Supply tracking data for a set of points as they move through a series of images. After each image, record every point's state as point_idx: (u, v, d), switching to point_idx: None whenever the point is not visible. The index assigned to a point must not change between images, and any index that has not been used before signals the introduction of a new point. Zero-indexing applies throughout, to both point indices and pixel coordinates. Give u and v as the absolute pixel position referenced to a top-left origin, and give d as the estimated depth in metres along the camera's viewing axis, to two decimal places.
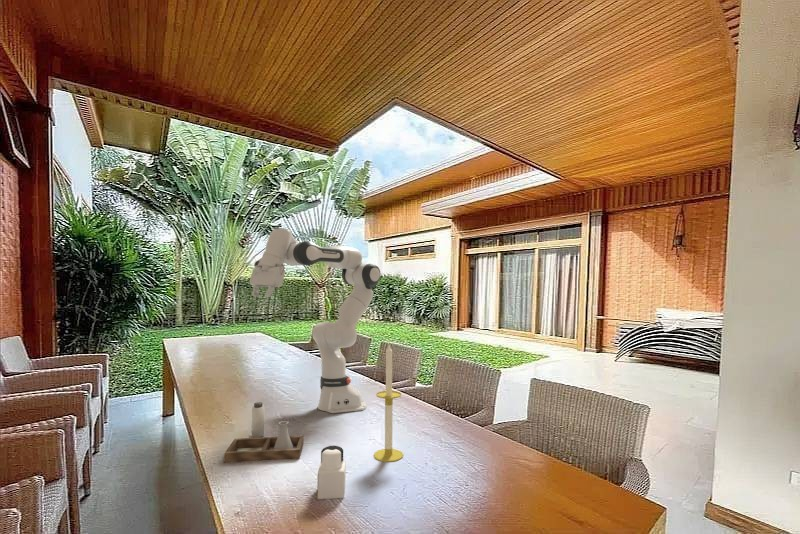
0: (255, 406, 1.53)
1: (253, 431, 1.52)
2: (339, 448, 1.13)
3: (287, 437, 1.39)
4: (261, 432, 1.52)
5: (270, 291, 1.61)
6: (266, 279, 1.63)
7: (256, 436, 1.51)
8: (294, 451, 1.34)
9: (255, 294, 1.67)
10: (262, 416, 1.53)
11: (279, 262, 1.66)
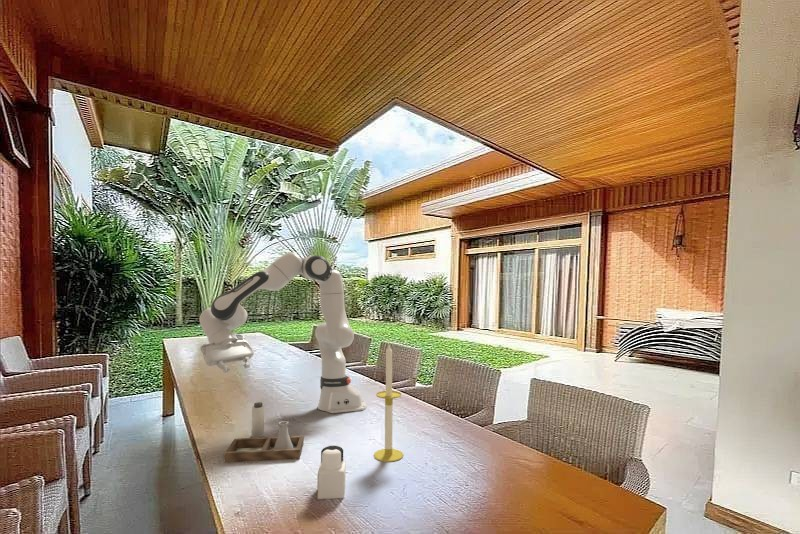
0: (255, 406, 1.53)
1: (253, 431, 1.52)
2: (339, 448, 1.13)
3: (287, 437, 1.39)
4: (261, 432, 1.52)
5: (221, 367, 1.57)
6: None
7: (256, 436, 1.51)
8: (294, 451, 1.34)
9: (245, 366, 1.65)
10: (262, 416, 1.53)
11: (212, 340, 1.63)
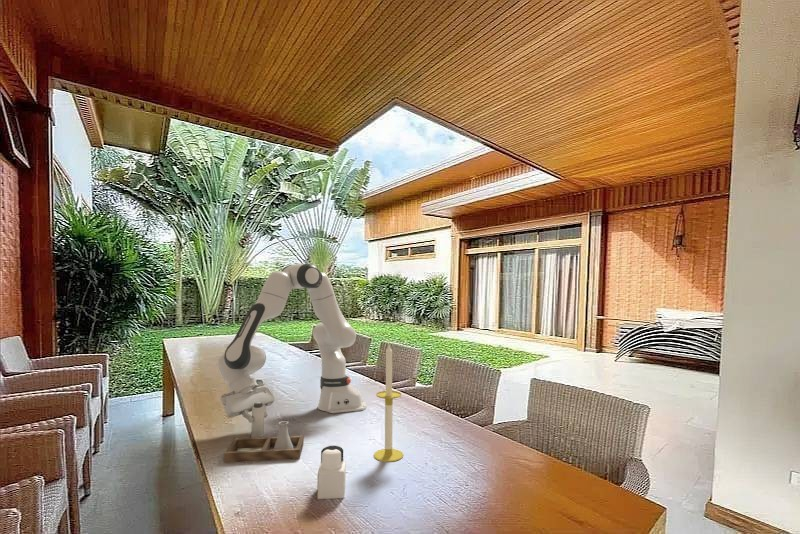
0: (255, 406, 1.53)
1: (253, 431, 1.52)
2: (339, 448, 1.13)
3: (287, 437, 1.39)
4: (261, 432, 1.52)
5: (247, 416, 1.51)
6: None
7: (256, 436, 1.51)
8: (294, 451, 1.34)
9: None
10: (262, 416, 1.53)
11: (232, 388, 1.55)
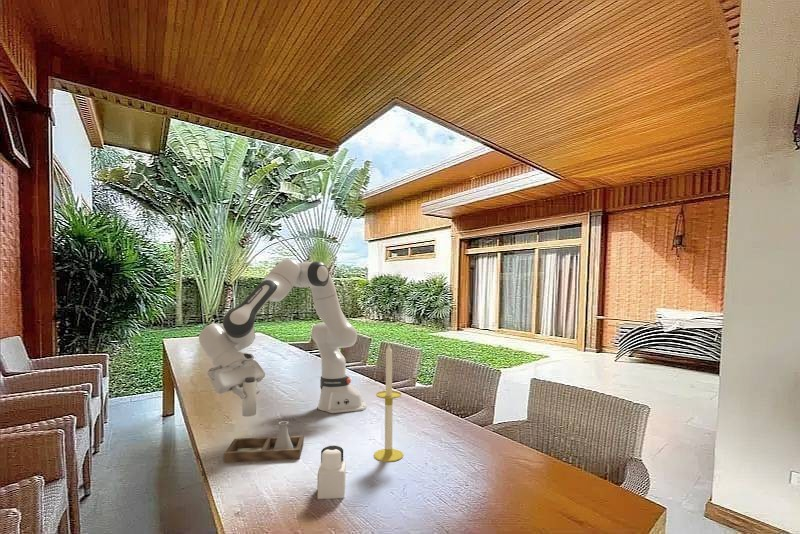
0: (247, 381, 1.37)
1: (245, 408, 1.36)
2: (339, 448, 1.13)
3: (287, 437, 1.39)
4: (254, 409, 1.37)
5: (238, 392, 1.35)
6: None
7: (248, 414, 1.36)
8: (294, 451, 1.34)
9: None
10: (255, 392, 1.38)
11: (219, 362, 1.39)
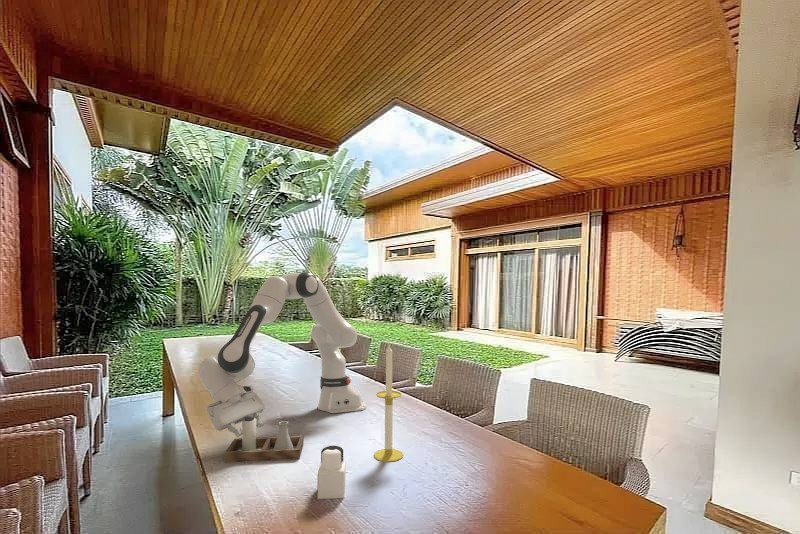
0: (246, 419, 1.37)
1: (244, 447, 1.36)
2: (339, 448, 1.13)
3: (287, 437, 1.39)
4: (253, 448, 1.37)
5: (234, 430, 1.33)
6: None
7: None
8: (294, 451, 1.34)
9: (257, 425, 1.42)
10: (254, 430, 1.38)
11: (219, 397, 1.38)
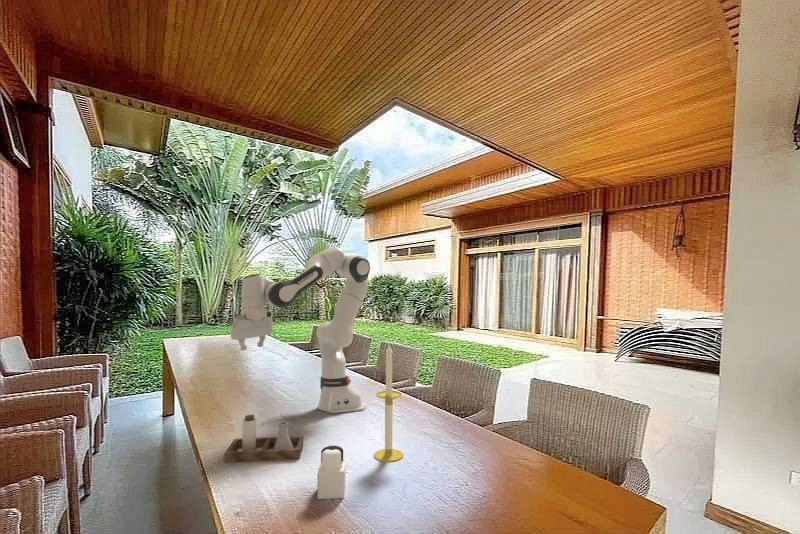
0: (246, 419, 1.37)
1: (244, 447, 1.36)
2: (339, 448, 1.13)
3: (287, 437, 1.39)
4: (253, 448, 1.37)
5: (241, 344, 1.60)
6: None
7: None
8: (294, 451, 1.34)
9: (258, 345, 1.69)
10: (254, 430, 1.37)
11: (246, 312, 1.61)
